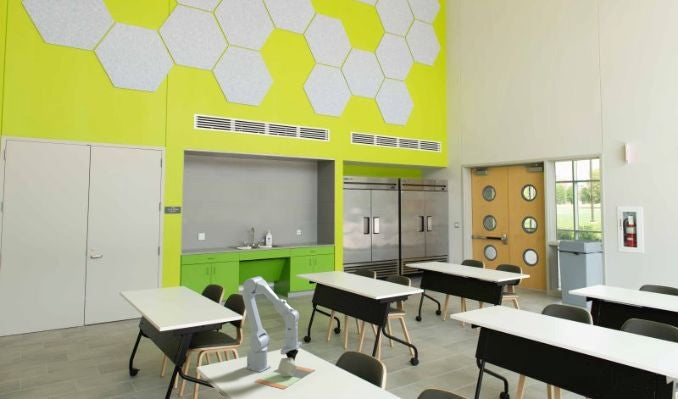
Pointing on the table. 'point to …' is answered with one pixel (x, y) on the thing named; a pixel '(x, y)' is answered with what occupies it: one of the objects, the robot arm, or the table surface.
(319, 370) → the table surface
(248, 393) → the table surface
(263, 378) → the mat
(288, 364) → the die
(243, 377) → the table surface
